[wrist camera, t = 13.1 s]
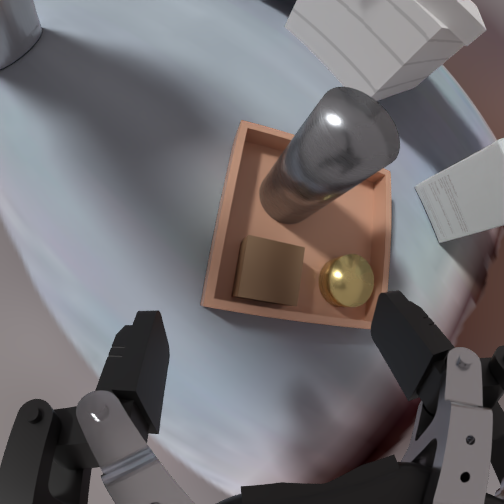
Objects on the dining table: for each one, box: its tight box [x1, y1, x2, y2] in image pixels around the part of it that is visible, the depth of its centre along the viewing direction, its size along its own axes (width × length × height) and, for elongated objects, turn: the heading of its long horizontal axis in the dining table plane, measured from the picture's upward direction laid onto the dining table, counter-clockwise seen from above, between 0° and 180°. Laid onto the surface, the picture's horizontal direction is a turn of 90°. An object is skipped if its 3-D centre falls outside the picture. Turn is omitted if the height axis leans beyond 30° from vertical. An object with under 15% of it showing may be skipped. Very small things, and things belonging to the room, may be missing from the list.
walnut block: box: [231, 235, 305, 306], centre depth 20 cm, size 4×4×2 cm
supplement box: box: [415, 138, 504, 243], centre depth 23 cm, size 7×7×13 cm
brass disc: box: [319, 254, 374, 307], centre depth 22 cm, size 4×4×2 cm
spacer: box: [259, 87, 400, 224], centre depth 17 cm, size 5×5×11 cm
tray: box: [200, 120, 391, 329], centre depth 22 cm, size 14×14×3 cm
